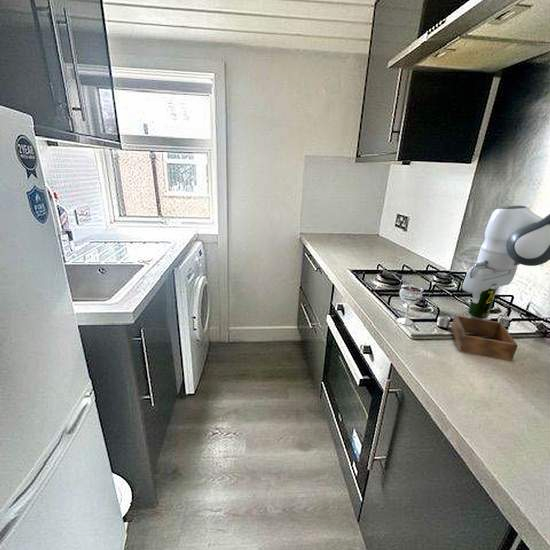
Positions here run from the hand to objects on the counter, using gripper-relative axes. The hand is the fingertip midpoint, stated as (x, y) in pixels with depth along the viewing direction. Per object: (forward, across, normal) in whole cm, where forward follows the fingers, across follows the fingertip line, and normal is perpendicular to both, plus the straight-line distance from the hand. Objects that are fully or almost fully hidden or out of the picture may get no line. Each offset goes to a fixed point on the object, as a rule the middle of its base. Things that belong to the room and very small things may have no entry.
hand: (482, 300), depth 96 cm
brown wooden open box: (+8, -11, -8) cm, 16 cm away
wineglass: (+9, -20, +11) cm, 25 cm away
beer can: (+6, 0, 0) cm, 6 cm away
